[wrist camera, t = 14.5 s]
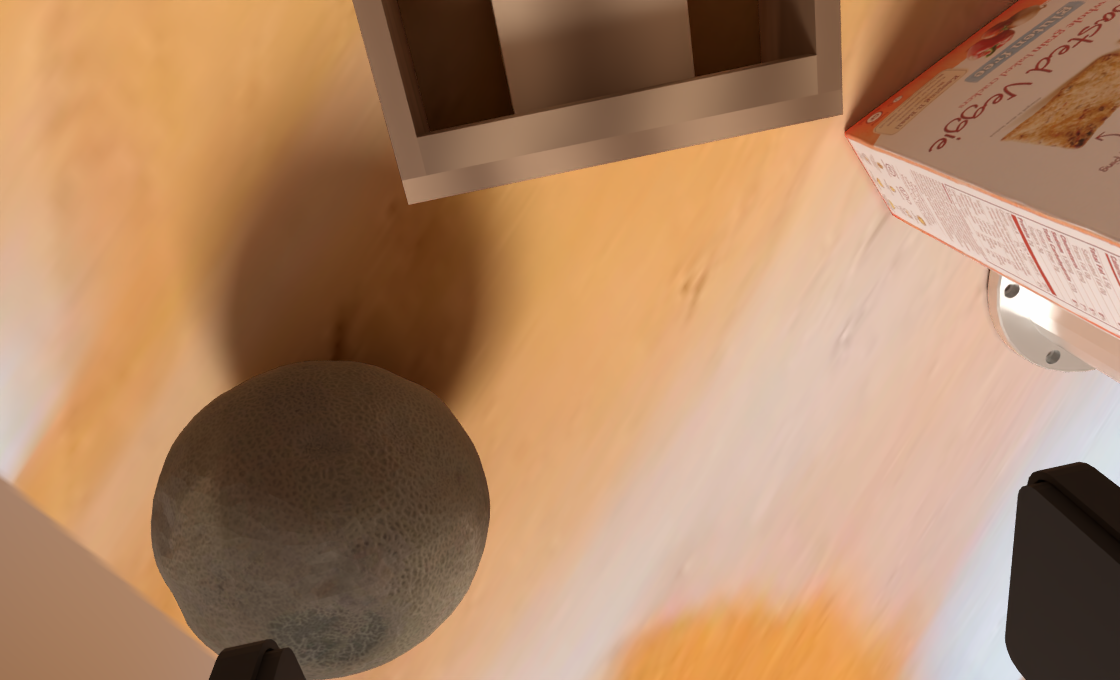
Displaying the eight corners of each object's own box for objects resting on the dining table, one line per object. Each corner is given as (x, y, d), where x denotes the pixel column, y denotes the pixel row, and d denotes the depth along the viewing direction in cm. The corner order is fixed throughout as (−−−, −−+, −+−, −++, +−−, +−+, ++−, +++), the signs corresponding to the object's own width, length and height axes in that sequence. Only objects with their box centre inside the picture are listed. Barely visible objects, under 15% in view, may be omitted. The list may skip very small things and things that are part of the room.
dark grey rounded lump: (395, 561, 46) (364, 798, 33) (168, 454, 42) (24, 677, 28) (531, 387, 42) (560, 574, 29) (297, 248, 38) (201, 393, 24)
